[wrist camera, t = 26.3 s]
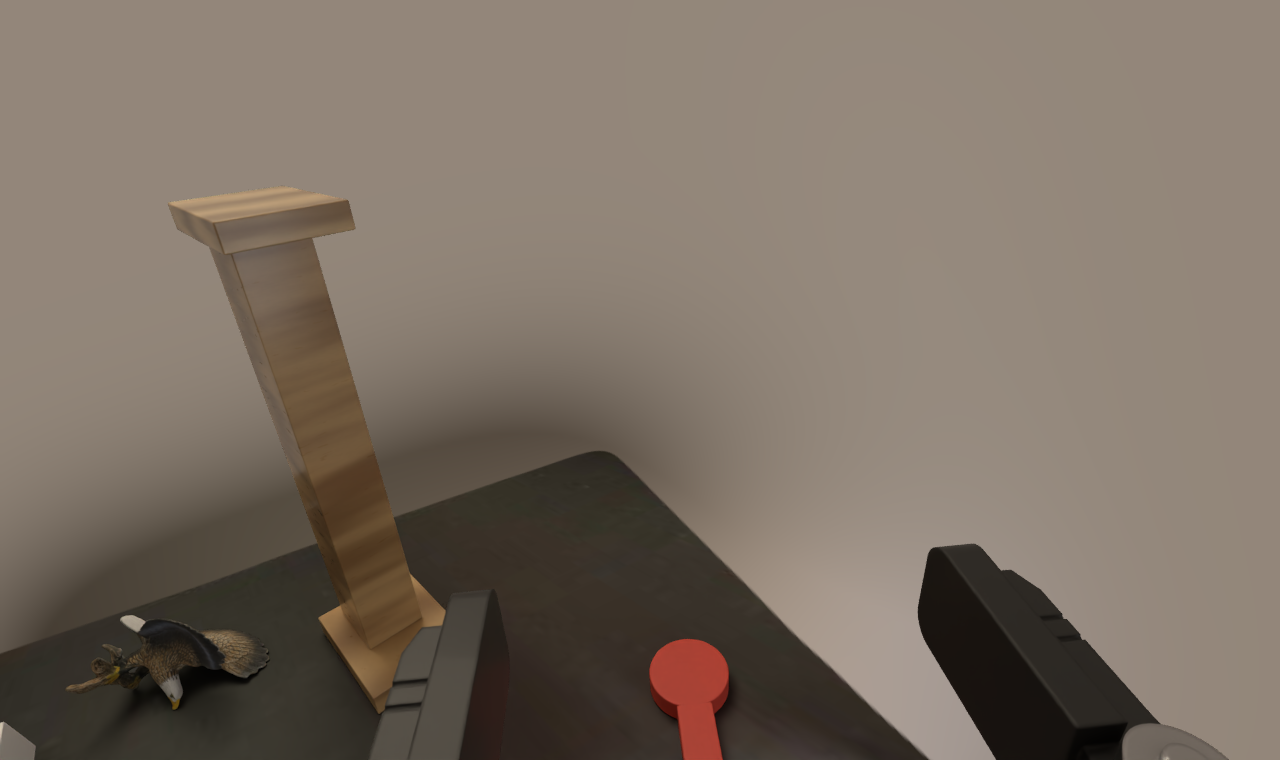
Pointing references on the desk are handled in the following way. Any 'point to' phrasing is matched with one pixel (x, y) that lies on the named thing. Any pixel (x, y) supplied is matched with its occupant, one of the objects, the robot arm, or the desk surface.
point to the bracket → (14, 745)
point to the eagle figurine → (175, 656)
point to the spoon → (691, 693)
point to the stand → (316, 414)
